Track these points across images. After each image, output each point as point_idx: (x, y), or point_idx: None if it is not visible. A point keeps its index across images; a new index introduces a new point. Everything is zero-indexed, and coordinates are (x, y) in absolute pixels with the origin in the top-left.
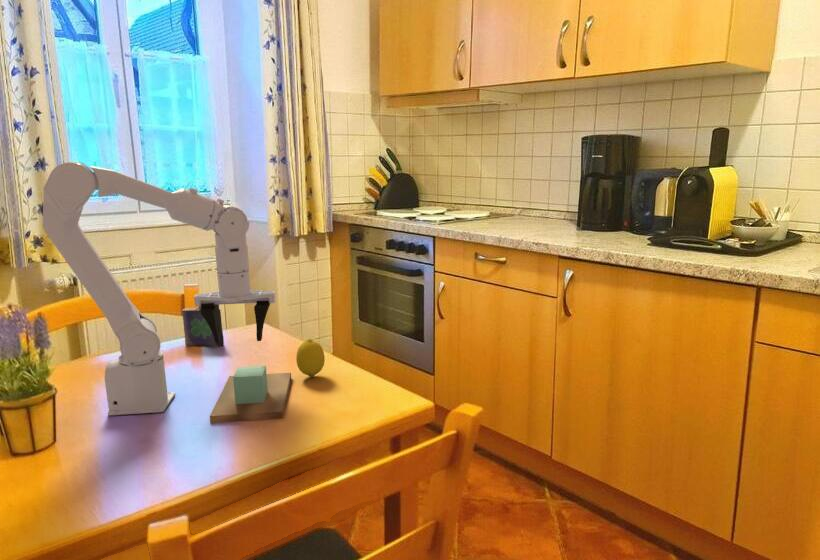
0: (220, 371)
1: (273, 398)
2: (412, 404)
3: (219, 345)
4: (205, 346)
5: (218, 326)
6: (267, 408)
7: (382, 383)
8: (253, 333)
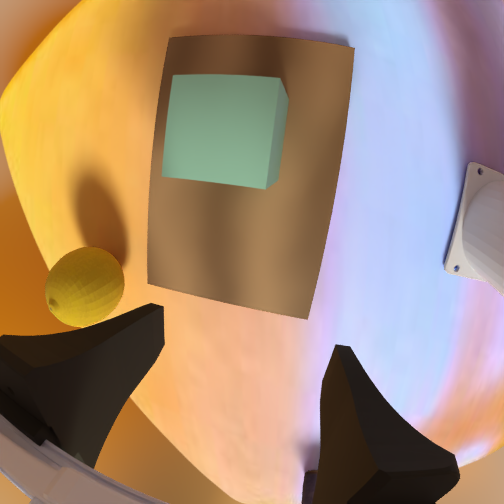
0: None
1: None
2: (6, 101)
3: (313, 472)
4: None
5: (329, 423)
6: (201, 55)
7: (20, 192)
8: (251, 489)
